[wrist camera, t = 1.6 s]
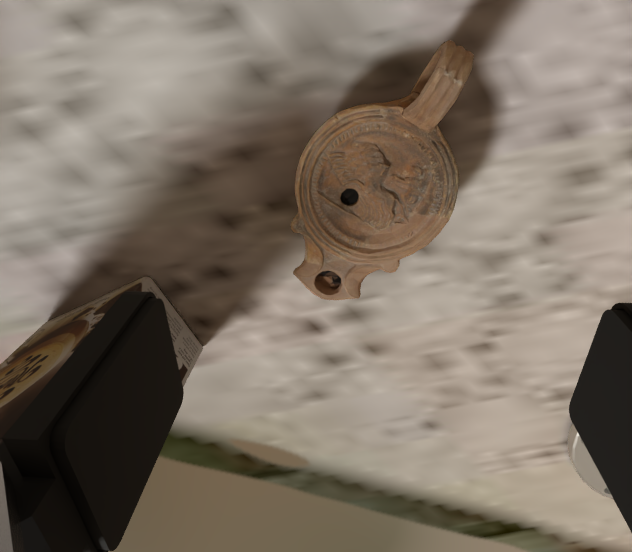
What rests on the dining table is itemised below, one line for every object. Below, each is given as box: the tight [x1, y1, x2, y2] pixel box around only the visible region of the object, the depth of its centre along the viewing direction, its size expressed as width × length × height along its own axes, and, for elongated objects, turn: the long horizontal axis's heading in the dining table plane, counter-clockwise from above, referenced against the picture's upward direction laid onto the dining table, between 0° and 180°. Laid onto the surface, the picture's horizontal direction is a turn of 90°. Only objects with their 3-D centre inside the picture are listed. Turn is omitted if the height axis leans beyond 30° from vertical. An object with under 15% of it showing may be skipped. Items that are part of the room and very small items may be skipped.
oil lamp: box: [291, 40, 474, 300], centre depth 21 cm, size 13×8×5 cm, turn 152°
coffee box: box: [0, 277, 203, 445], centre depth 23 cm, size 9×6×16 cm
